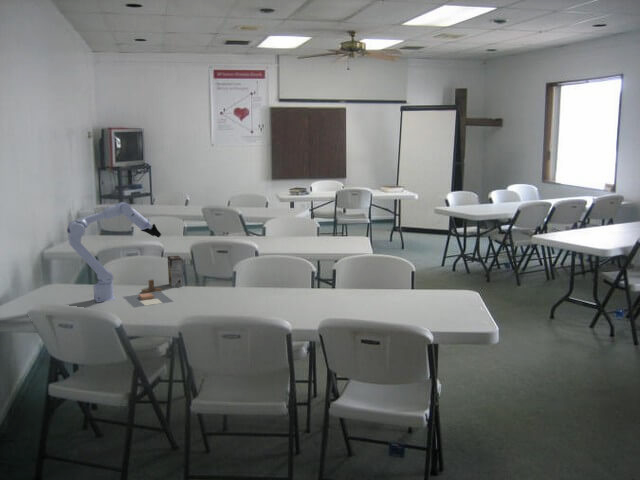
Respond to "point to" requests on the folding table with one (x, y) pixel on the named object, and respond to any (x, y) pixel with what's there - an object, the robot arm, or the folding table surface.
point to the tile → (146, 296)
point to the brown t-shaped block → (151, 287)
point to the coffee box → (175, 271)
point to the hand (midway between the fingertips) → (157, 235)
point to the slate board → (148, 300)
